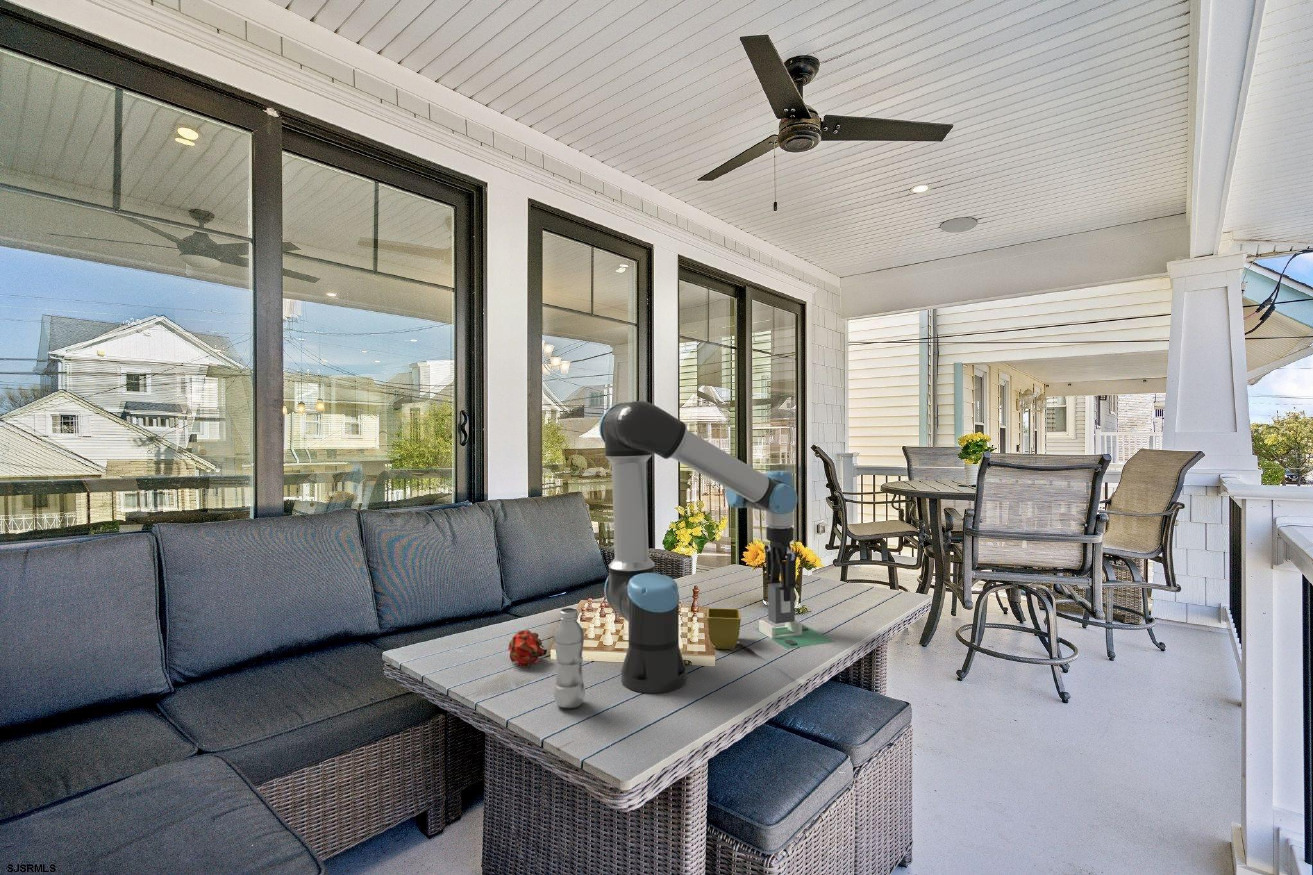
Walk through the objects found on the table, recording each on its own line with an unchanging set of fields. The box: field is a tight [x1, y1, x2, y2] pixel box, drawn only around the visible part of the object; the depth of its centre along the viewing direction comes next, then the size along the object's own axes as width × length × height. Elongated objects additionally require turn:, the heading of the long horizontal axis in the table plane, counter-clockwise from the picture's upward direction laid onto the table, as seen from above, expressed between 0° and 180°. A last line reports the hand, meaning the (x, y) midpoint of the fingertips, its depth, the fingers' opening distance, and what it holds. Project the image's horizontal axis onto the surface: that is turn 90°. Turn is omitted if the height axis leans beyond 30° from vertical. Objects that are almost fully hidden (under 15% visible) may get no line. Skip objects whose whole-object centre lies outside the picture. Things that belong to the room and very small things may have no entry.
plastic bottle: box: [553, 607, 586, 709], centre depth 128 cm, size 6×7×20 cm
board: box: [755, 619, 837, 649], centre depth 168 cm, size 15×17×4 cm
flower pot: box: [706, 607, 742, 650], centre depth 162 cm, size 9×9×9 cm
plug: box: [767, 583, 796, 625], centre depth 170 cm, size 7×4×10 cm, turn 110°
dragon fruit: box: [508, 629, 548, 669], centre depth 151 cm, size 8×8×12 cm
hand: (780, 609), depth 170 cm, fingers closed on plug, 4 cm apart
